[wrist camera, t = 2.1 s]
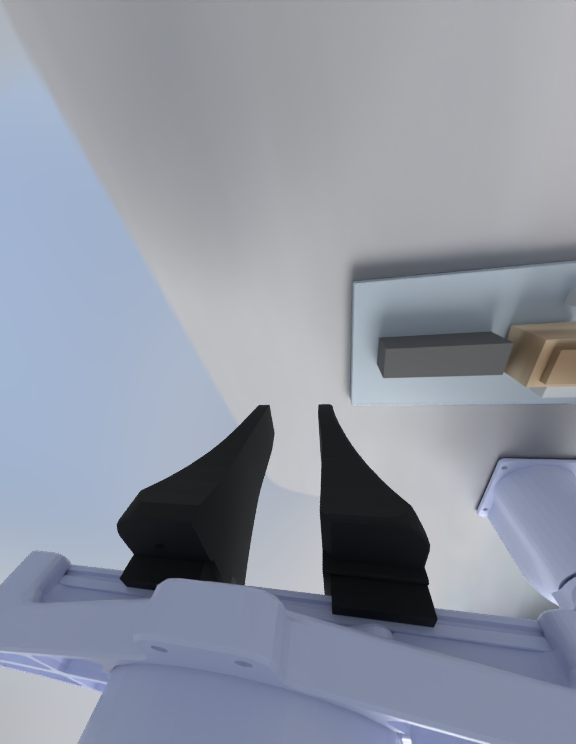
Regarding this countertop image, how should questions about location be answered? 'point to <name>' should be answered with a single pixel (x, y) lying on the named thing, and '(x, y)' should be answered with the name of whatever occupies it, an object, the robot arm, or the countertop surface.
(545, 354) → the slider block
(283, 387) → the countertop surface
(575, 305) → the channel
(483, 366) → the bar
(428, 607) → the robot arm
